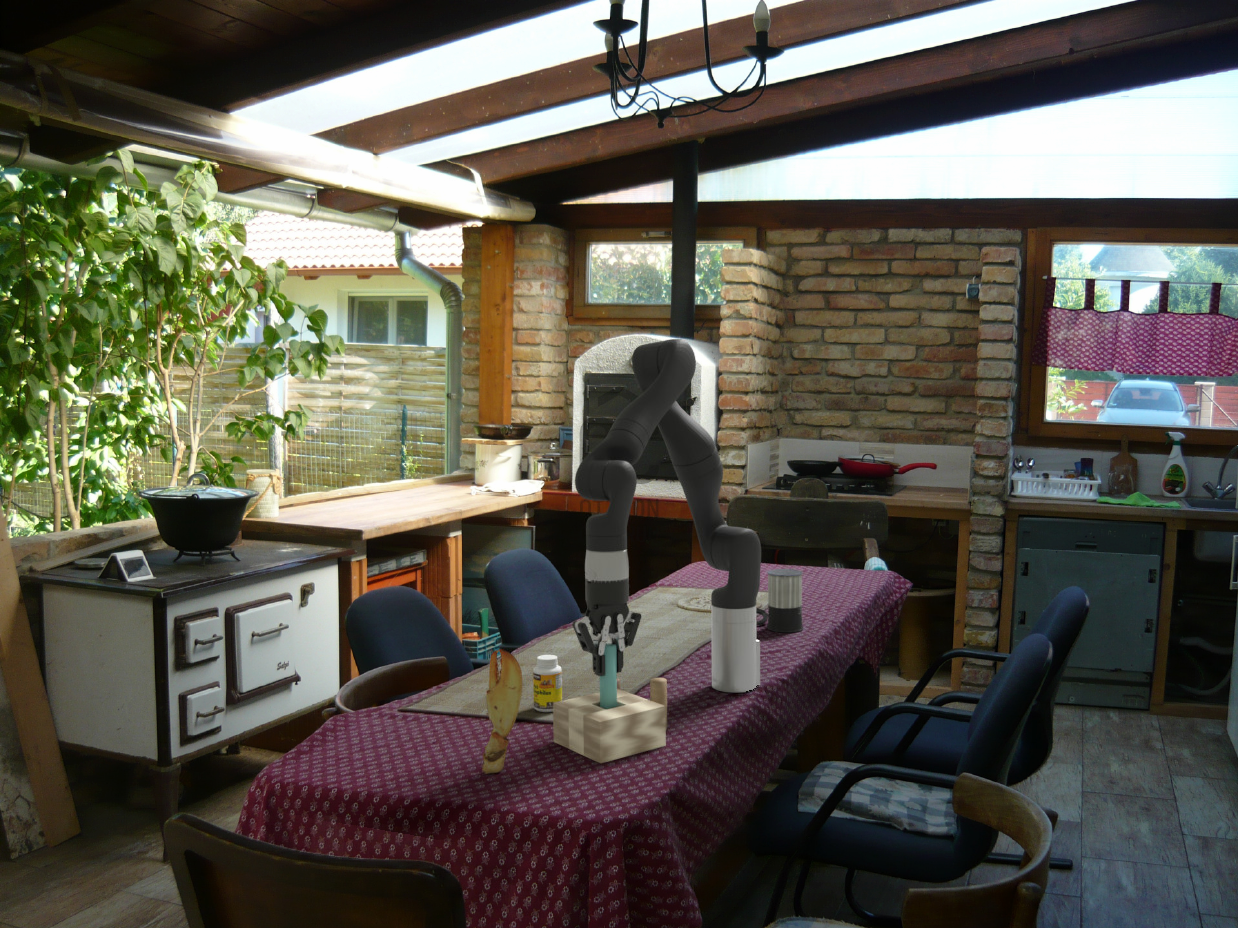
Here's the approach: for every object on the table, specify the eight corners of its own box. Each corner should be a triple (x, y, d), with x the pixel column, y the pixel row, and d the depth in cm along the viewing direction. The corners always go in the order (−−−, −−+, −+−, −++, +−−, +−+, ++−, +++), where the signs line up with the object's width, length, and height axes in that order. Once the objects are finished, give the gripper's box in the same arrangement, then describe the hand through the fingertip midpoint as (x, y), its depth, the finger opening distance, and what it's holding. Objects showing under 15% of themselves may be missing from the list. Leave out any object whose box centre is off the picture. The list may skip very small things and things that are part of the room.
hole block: (617, 725, 197) (616, 688, 197) (665, 745, 186) (665, 705, 186) (553, 741, 189) (553, 702, 188) (600, 763, 178) (600, 721, 177)
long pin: (610, 720, 190) (609, 642, 189) (620, 724, 187) (619, 645, 186) (596, 723, 188) (595, 645, 187) (606, 728, 185) (605, 648, 184)
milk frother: (805, 633, 269) (805, 574, 268) (742, 633, 270) (742, 575, 269) (797, 620, 284) (797, 565, 282) (738, 621, 284) (737, 565, 283)
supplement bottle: (528, 710, 207) (527, 658, 207) (544, 703, 212) (543, 652, 212) (552, 714, 205) (551, 661, 204) (567, 706, 210) (567, 655, 209)
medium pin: (660, 724, 198) (659, 676, 197) (670, 728, 195) (670, 680, 195) (647, 728, 196) (646, 679, 195) (657, 732, 194) (657, 683, 193)
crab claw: (527, 771, 175) (524, 650, 173) (507, 781, 170) (504, 656, 169) (494, 763, 178) (491, 644, 177) (473, 772, 174) (471, 651, 173)
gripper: (626, 568, 193) (627, 662, 194) (561, 576, 184) (562, 675, 186) (652, 573, 187) (653, 671, 188) (586, 582, 178) (587, 685, 180)
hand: (608, 672), depth 187 cm, fingers closed on long pin, 3 cm apart
